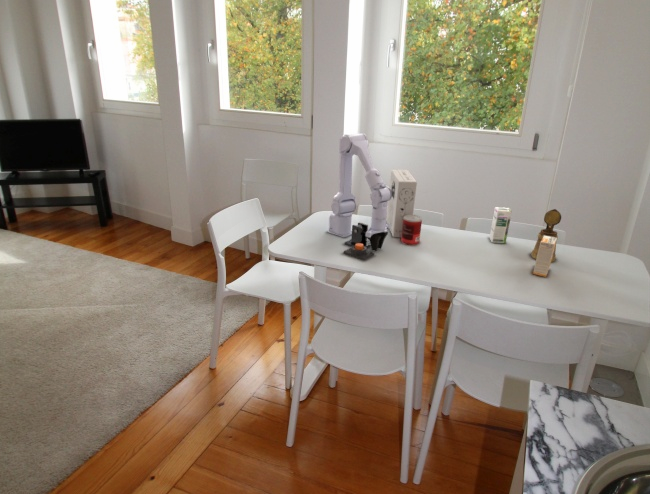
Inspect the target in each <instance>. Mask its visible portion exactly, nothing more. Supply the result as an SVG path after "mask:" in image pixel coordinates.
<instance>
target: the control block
mask: <svg viewBox="0 0 650 494" xmlns="http://www.w3.org/2000/svg"><path fill="white" fill-rule="evenodd" d="M343 255H347V256H349V257H353V258H355V259H358V260H361V261H367V260H368V259H370V258H372V257H373V256H375V252H372V251H370V250H368V248H367V247H365V246H363V250H357V249H355V245H354V246H352V247H351V246H350V247H349V248H347V249H345V250H343Z"/></svg>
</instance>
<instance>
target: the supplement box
mask: <svg viewBox="0 0 650 494" xmlns="http://www.w3.org/2000/svg"><path fill="white" fill-rule="evenodd" d="M556 240H558V238H555V237H550V236H543V238H542V240H541V242H540V246H539V251H538V255H537V259H535V264H534V268H533V273H532V274H533V275H534V276H535V275H536V276H541V277H544V278H546V277H547V275H548V273H549V270H550V267H551V264H552V262H551V260H552V257H553V253H554V249H555V245H556V246H557V241H556Z"/></svg>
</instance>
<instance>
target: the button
mask: <svg viewBox="0 0 650 494" xmlns="http://www.w3.org/2000/svg"><path fill="white" fill-rule="evenodd" d="M355 249H357V250H363V244H361V243H357V244H355Z"/></svg>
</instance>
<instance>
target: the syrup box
mask: <svg viewBox="0 0 650 494" xmlns="http://www.w3.org/2000/svg"><path fill="white" fill-rule="evenodd" d="M493 210H494V212H493V217H492V222H491V227H490V234H489V239H490V242H491V243H492V244H493V243H496V244H507V243H506V242H507V237H508V233H509V227H510V222H511V219H512V210H511V208H510V207H498V206H495V207H494V209H493Z"/></svg>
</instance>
